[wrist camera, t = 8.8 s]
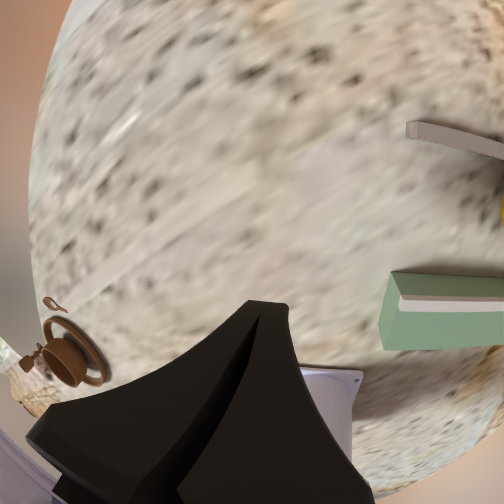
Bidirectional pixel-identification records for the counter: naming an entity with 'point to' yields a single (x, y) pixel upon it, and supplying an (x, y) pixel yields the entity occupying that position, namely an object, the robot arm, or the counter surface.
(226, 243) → the counter surface
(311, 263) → the counter surface
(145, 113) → the counter surface
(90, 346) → the place setting
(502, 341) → the pale green rectangular bar
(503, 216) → the lemon
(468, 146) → the rail
